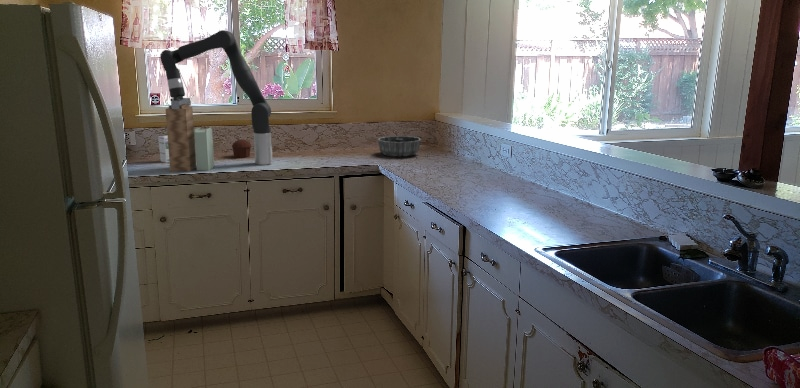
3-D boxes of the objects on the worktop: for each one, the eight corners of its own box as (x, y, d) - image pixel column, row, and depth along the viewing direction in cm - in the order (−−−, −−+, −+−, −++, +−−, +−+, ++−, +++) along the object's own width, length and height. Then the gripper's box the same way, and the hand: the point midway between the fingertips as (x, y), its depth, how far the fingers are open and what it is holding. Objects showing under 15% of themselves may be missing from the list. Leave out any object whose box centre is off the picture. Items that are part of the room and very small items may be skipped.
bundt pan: (370, 156, 362) (370, 140, 360) (387, 150, 386) (388, 134, 384) (411, 160, 353) (411, 143, 350) (426, 153, 376) (427, 137, 374)
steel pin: (190, 105, 324) (190, 97, 324) (179, 109, 305) (179, 101, 304) (183, 105, 324) (182, 97, 323) (171, 108, 305) (170, 100, 304)
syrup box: (166, 162, 335) (164, 136, 331) (160, 161, 338) (158, 135, 335) (175, 161, 339) (173, 135, 336) (169, 160, 343) (167, 134, 339)
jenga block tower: (196, 166, 324) (192, 103, 317) (190, 171, 313) (185, 106, 305) (177, 166, 324) (172, 103, 316) (170, 171, 312) (165, 105, 304)
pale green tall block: (214, 166, 327) (212, 127, 322) (209, 170, 315) (206, 129, 310) (202, 166, 326) (200, 126, 321) (196, 170, 315) (193, 129, 310)
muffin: (247, 158, 350) (246, 141, 348) (229, 158, 352) (228, 140, 349) (255, 155, 361) (254, 138, 359) (237, 154, 363) (236, 138, 361)
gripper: (176, 85, 317) (183, 116, 318) (188, 87, 331) (195, 116, 333) (163, 88, 318) (169, 119, 319) (176, 90, 332) (182, 119, 333)
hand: (182, 117), depth 326 cm, fingers open, 8 cm apart
